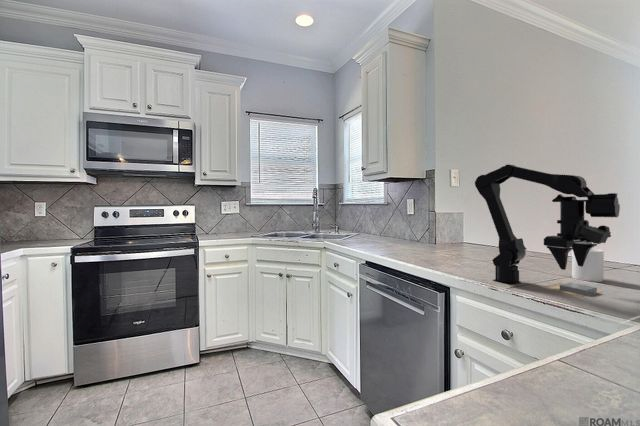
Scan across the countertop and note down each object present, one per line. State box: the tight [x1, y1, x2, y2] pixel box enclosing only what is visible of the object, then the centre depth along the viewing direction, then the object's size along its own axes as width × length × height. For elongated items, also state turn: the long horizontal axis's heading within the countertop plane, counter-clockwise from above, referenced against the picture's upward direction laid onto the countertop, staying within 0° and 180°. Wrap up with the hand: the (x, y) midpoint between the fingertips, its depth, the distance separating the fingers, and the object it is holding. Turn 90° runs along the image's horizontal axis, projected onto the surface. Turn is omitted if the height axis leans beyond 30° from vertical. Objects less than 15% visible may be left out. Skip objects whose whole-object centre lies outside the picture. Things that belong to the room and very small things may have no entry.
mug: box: [571, 248, 605, 283], centre depth 114 cm, size 9×12×11 cm
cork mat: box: [541, 282, 604, 298], centre depth 100 cm, size 12×11×1 cm
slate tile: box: [560, 282, 598, 297], centre depth 98 cm, size 7×2×6 cm
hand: (572, 267), depth 96 cm, fingers open, 9 cm apart
